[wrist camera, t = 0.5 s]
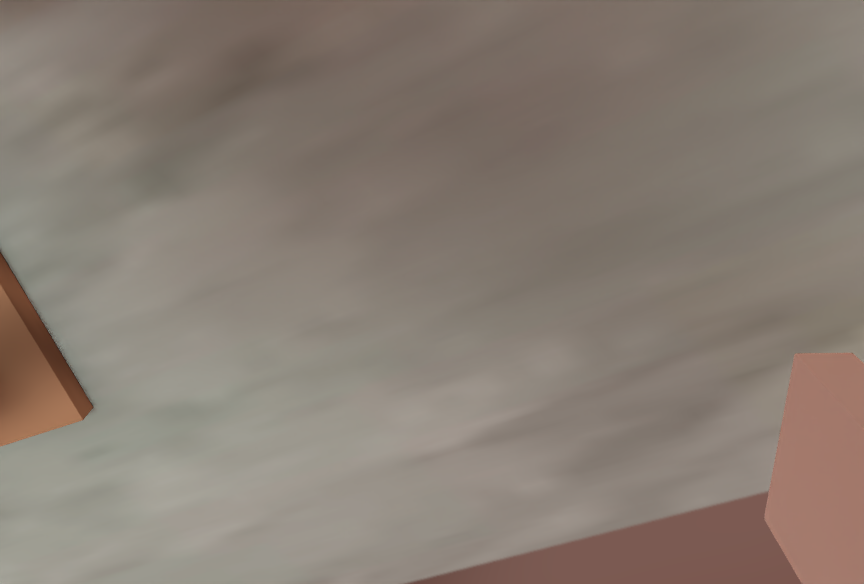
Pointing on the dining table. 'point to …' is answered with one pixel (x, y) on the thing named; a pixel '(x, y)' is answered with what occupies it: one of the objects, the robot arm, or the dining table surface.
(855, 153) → the dining table surface
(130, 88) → the dining table surface
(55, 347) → the cup cradle
